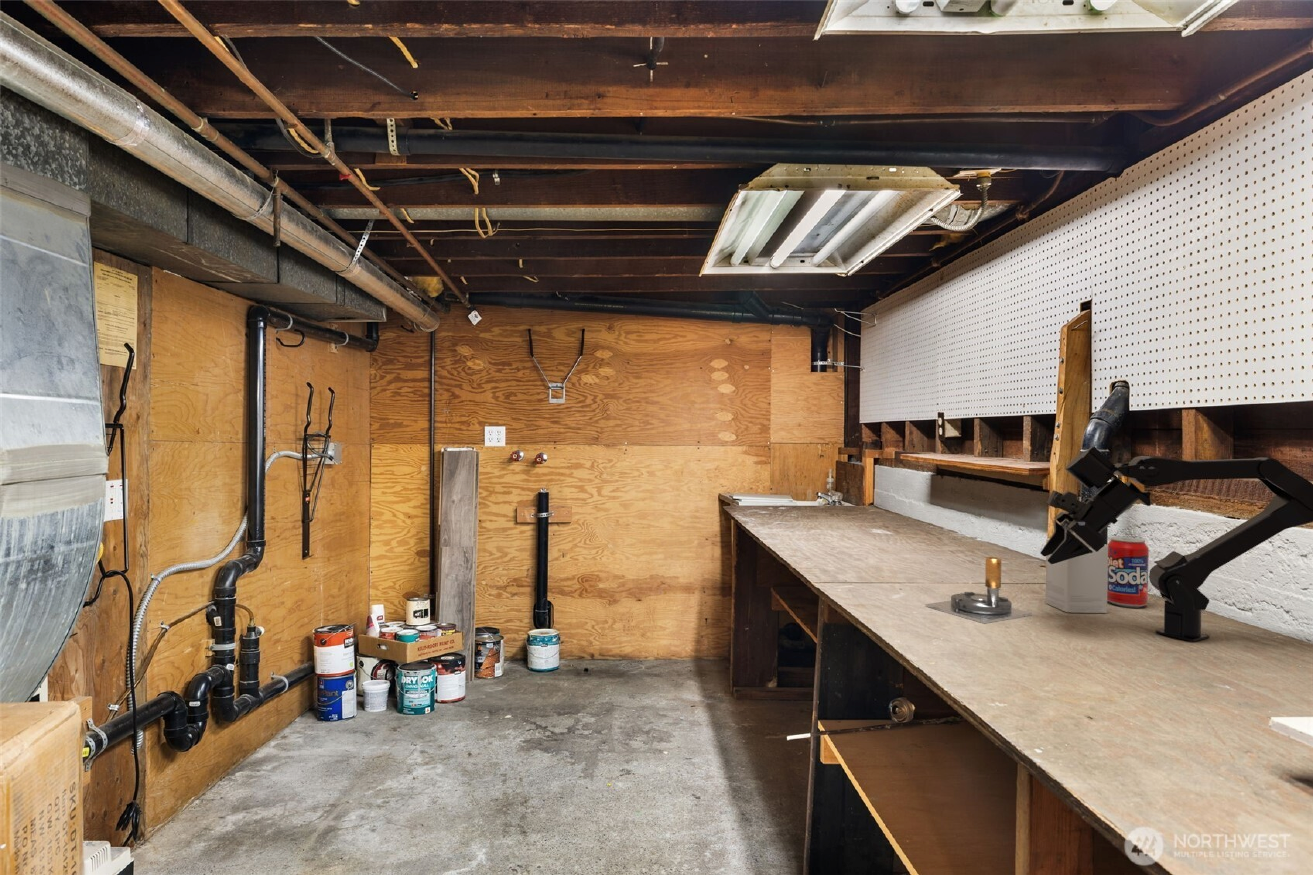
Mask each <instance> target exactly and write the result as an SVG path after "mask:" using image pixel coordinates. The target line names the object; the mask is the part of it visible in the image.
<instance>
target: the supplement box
mask: <svg viewBox="0 0 1313 875" xmlns="http://www.w3.org/2000/svg"><path fill="white" fill-rule="evenodd" d="M1049 539H1050V537H1049V538H1046V541H1045V542H1046V543H1047V542H1048V540H1049ZM1090 550H1092V551H1093V553H1088V554H1085V555H1081V556H1078V557H1074V558H1071V559H1068V560H1065V561H1061V562H1058V563H1055V564H1050V563H1049V562H1048V559H1049V557H1050V556H1051V555H1052V554H1050V555H1048V556H1045V603H1046V604H1047V605H1049V606H1051V607H1054V608H1056V609H1059V610H1060V611H1063V612H1065V613H1072V614H1073V613H1078V614H1079V613H1081V614H1083V613H1084V614H1107V613H1108V600H1107V579H1108V545H1107V544H1105V546H1104V547H1102V548H1101V549H1100V550H1099V551H1098V552H1096V551H1095V550H1093V549H1092V547H1091V548H1090Z"/></svg>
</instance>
